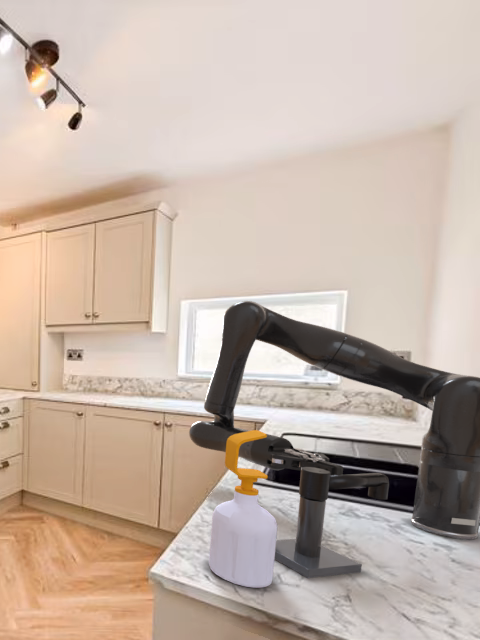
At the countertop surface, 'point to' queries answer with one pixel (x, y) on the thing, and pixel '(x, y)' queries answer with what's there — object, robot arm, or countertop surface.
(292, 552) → the faucet base
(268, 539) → the soap bottle
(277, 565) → the countertop surface
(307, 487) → the spout
